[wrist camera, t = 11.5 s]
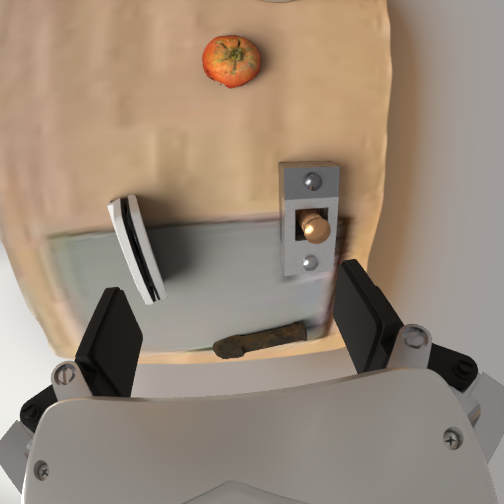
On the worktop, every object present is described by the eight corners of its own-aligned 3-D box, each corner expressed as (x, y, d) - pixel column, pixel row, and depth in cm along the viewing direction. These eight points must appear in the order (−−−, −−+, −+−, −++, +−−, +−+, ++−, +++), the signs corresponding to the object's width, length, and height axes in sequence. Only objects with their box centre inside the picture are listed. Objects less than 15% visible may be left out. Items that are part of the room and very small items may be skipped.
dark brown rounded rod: (303, 316, 55) (308, 332, 51) (303, 330, 57) (309, 345, 53) (210, 333, 55) (209, 350, 51) (215, 346, 57) (215, 362, 53)
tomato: (272, 83, 32) (237, 77, 27) (233, 94, 37) (196, 93, 31) (263, 34, 30) (228, 22, 24) (226, 49, 34) (189, 42, 29)
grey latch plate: (278, 162, 39) (284, 169, 35) (329, 161, 40) (341, 167, 36) (280, 262, 48) (285, 278, 44) (325, 258, 48) (333, 272, 44)
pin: (293, 203, 43) (305, 220, 37) (317, 202, 43) (331, 218, 37) (293, 226, 45) (304, 245, 39) (316, 224, 45) (329, 242, 39)
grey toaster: (106, 200, 39) (102, 219, 31) (134, 190, 41) (137, 206, 33) (138, 286, 48) (144, 320, 39) (162, 278, 49) (172, 310, 41)
